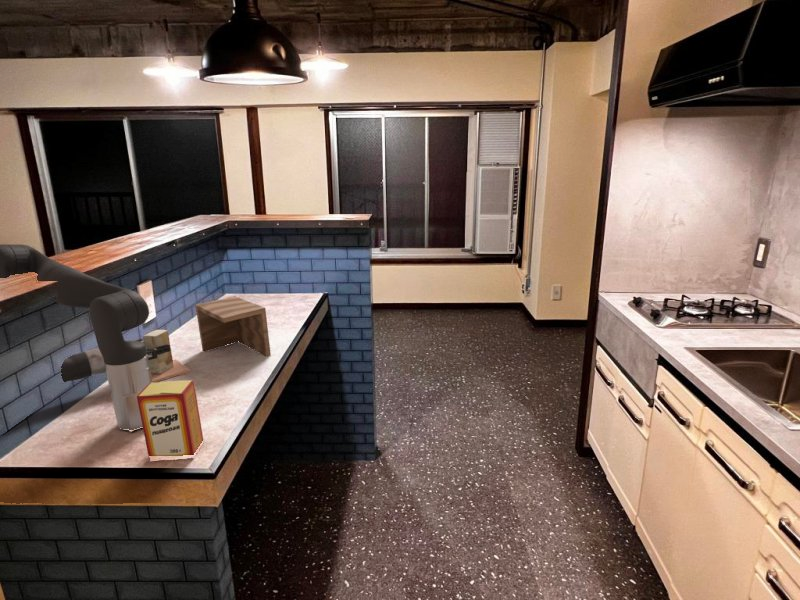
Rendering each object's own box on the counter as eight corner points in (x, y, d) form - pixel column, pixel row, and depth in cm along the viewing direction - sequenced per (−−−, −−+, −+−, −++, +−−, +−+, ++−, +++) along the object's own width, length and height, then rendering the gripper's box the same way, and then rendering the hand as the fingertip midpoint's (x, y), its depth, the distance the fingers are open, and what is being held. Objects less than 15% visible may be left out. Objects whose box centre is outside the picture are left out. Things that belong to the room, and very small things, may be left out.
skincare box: (161, 374, 150) (154, 336, 147) (148, 373, 151) (141, 335, 148) (174, 366, 156) (168, 329, 153) (163, 365, 157) (156, 328, 154)
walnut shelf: (270, 355, 164) (265, 307, 160) (230, 368, 155) (223, 318, 151) (240, 340, 180) (234, 296, 175) (202, 350, 171) (195, 304, 166)
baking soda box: (149, 461, 107) (136, 394, 103) (161, 445, 114) (149, 381, 109) (194, 459, 108) (182, 391, 103) (203, 442, 114) (193, 378, 110)
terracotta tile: (189, 371, 154) (189, 369, 153) (148, 384, 146) (148, 381, 146) (175, 361, 162) (175, 359, 162) (136, 372, 154) (135, 370, 154)
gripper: (110, 353, 136) (170, 338, 147) (97, 341, 146) (155, 327, 157) (115, 378, 138) (175, 361, 149) (102, 364, 148) (159, 349, 159)
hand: (164, 344), depth 153 cm, fingers open, 8 cm apart
